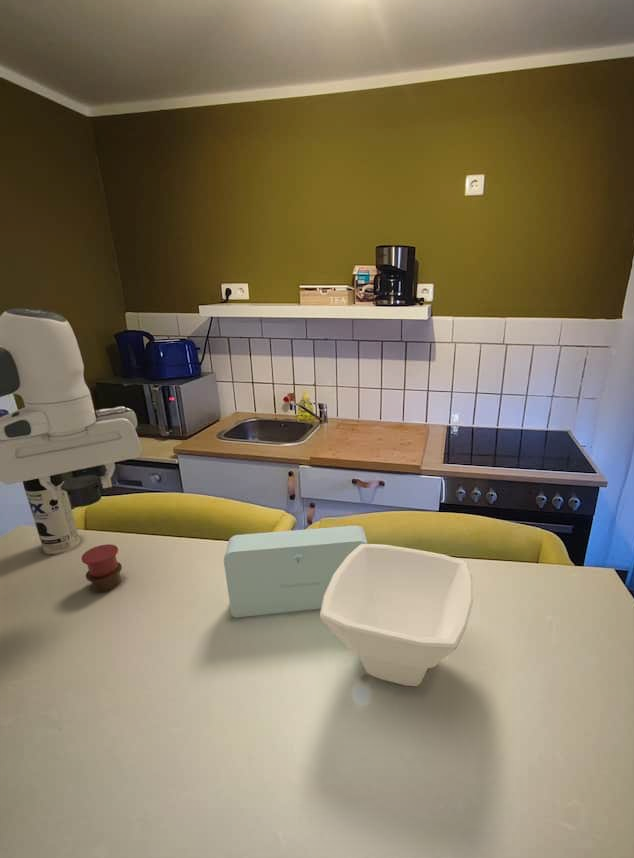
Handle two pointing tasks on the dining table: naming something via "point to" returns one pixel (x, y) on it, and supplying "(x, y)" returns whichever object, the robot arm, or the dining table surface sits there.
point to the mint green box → (285, 568)
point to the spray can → (52, 516)
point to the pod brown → (105, 580)
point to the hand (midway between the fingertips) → (83, 492)
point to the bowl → (399, 609)
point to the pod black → (83, 490)
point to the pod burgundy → (101, 560)
